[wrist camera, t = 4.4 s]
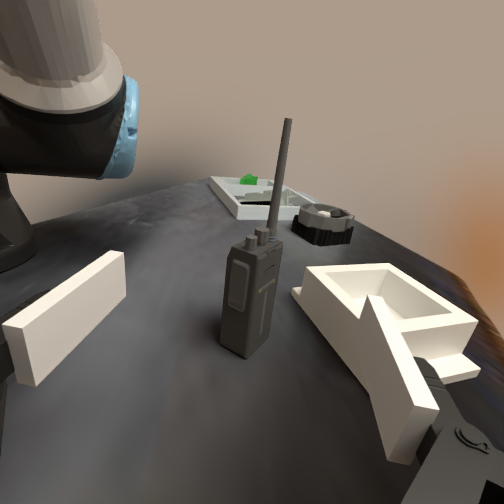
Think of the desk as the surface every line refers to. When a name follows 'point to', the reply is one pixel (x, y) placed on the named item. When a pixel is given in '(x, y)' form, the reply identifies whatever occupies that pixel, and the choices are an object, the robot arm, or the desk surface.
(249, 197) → the metal bracket
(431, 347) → the charging cradle
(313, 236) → the cpu cooler
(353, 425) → the desk surface
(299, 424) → the desk surface
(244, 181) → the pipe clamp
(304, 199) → the desk organiser
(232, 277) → the walkie-talkie
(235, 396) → the desk surface
